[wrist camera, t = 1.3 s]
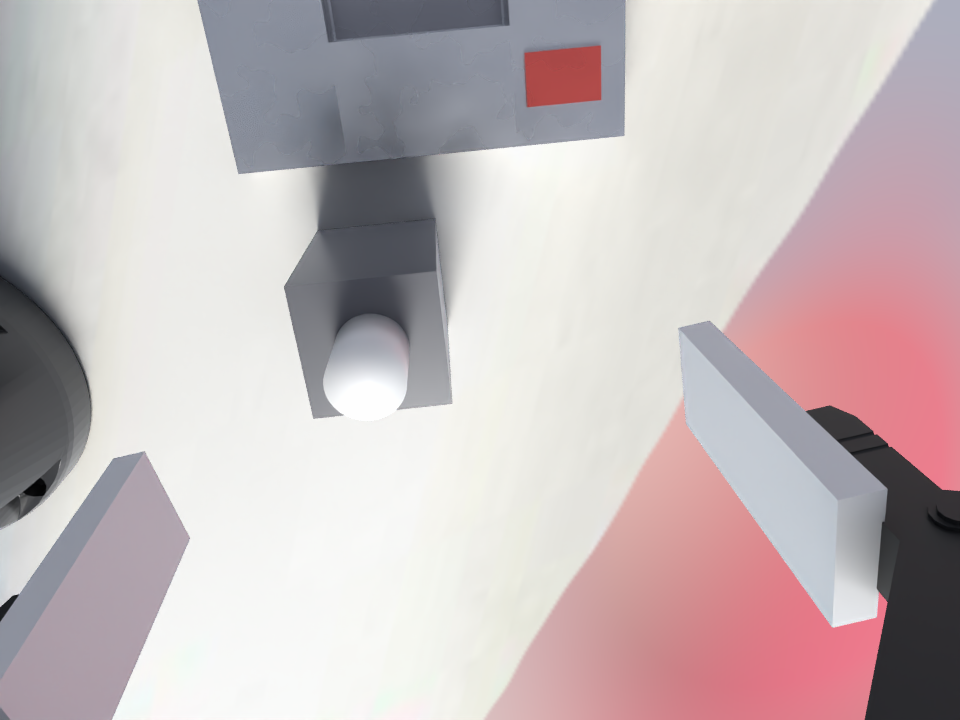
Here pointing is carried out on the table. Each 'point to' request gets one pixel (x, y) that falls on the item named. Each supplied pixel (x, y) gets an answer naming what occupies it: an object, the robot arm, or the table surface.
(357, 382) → the plug
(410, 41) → the socket plate
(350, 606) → the table surface
